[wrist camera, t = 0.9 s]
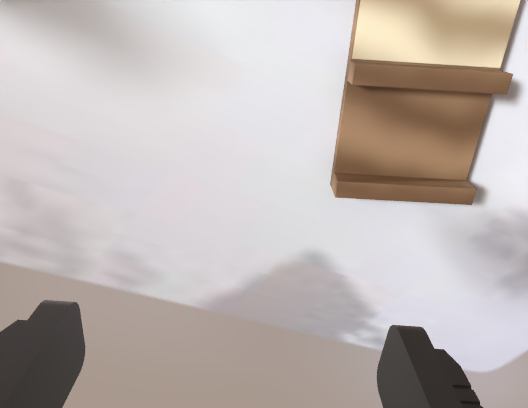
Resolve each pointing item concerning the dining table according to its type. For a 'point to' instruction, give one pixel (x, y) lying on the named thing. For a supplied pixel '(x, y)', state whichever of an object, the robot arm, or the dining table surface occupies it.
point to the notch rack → (418, 97)
